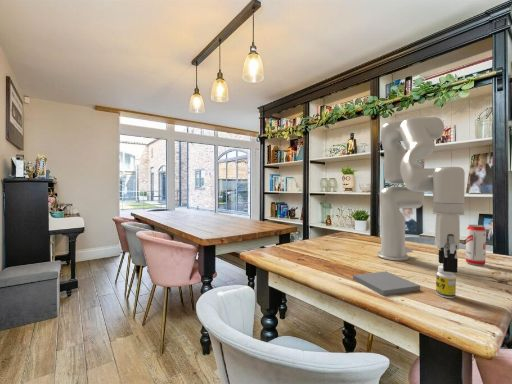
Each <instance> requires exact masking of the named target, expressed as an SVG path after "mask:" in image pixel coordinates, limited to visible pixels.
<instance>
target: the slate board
mask: <svg viewBox="0 0 512 384" xmlns="http://www.w3.org/2000/svg"><path fill="white" fill-rule="evenodd" d="M352 280H353V281H356V282H358V283H359V284H360V285H363V286H365V287H366V288H368V289H370V290H372V291H373V292H375V293H378V294H380V295H381V296H390V295H397V294H405V293H410V292H411V291H412V292H418V291H417V290H419V291H421V284H417V283H415V282H413V281H411V280H408V279H405V278H404V277H400V276H398V275H396V274H394V273H392V272H390V271H386V270H385V271H378V272H377V271H376V272H368V273H359V274H352ZM412 292H411V293H412Z"/></svg>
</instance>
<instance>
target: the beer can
mask: <svg viewBox="0 0 512 384" xmlns="http://www.w3.org/2000/svg"><path fill="white" fill-rule="evenodd" d="M465 238H466V241H465V261H466V263H467V264H468V265H472V266H476V267H483V266H484V265H485V264H486V257H487V254H486V253H487V251H486V250H487V230H486V227H485V225H481V224H468V226H467V228H466V236H465Z"/></svg>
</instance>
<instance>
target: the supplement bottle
mask: <svg viewBox="0 0 512 384" xmlns="http://www.w3.org/2000/svg"><path fill="white" fill-rule="evenodd" d="M435 275H436V277H435V278H436V279H435V280H436V281H435V293H436V295H438V296H439V297H442V298H444V297H445V299H454V297H455V298H456V289H457V288H456V287H457V276H456V275H455V273H452V272H445V271H443V264H441V265H438V266H437V272H436V274H435Z"/></svg>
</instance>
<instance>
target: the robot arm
mask: <svg viewBox="0 0 512 384" xmlns="http://www.w3.org/2000/svg"><path fill="white" fill-rule="evenodd" d="M444 132H445V124H444V121H443V120H442V119H441V118H439V117H438V116H421V117H420V116H418V117H417V116H415V117H409V118H406V119H404V120H394V121H393V120H392V121H388V122H386V123H384V124H383V125H382V126H381V130H380V143H381V145H382V148H383V154H384V155H383V178H384V179H383V180H384V181H385V182H386V183H387V184H392V185H396V184H397V185H399V184H400V185H404V186H387V187H384V188H382V189H381V190H380V191H379V203H380V209H381V210H380V212H381V226H380V227H381V230H380V231H381V233H380V234H381V235H380V251H378V252H377V253H376V255H377V257H379V258H381V259H385V260H388V261H401V262H402V261H407V260H409V255H408V253H413V251H414V250H413V248H412V247H406V217H405V215H404V214H403V212H402V211H401V210H400V209H419V208H421V207H422V206H423V205H424V202H425V192H426V193H427V192H428V193H430V192H431V193H432V214H434V215H435V232H434V233H435V235H434V236H435V237H434V244H435V246H436V247H437V248H438V263H439V264H441V265H443V271H445V272H452V273H454V274H457V273H458V265H459V263H458V262H459V261H458V260H459V259H458V252H457V251H458V250H459V249H460V237H461V234H460V231H461V228H460V227H461V226H460V225H461V222H460V220H461V219H460V216H464V215H465V189H466V188H465V185H466V184H465V182H466V181H465V180H466V179H465V174H466V173H465V170H464V168H463V167H460V166H441V167H437V168H433V167H432V168H431V167H429V168H428V167H427V168H424V167H423V166H424V165H422V164H421V163H419V162H418V161H421V160H423V159H425V158H428V157H429V156H430V155H432V154H433V152H434V151H435V148H436V143H435V142H434V141H437V140H438V139H441V138H442V136H443V135H444ZM400 142H403V144H404V146H405V148H404V146H403V145H402V143H400Z"/></svg>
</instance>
